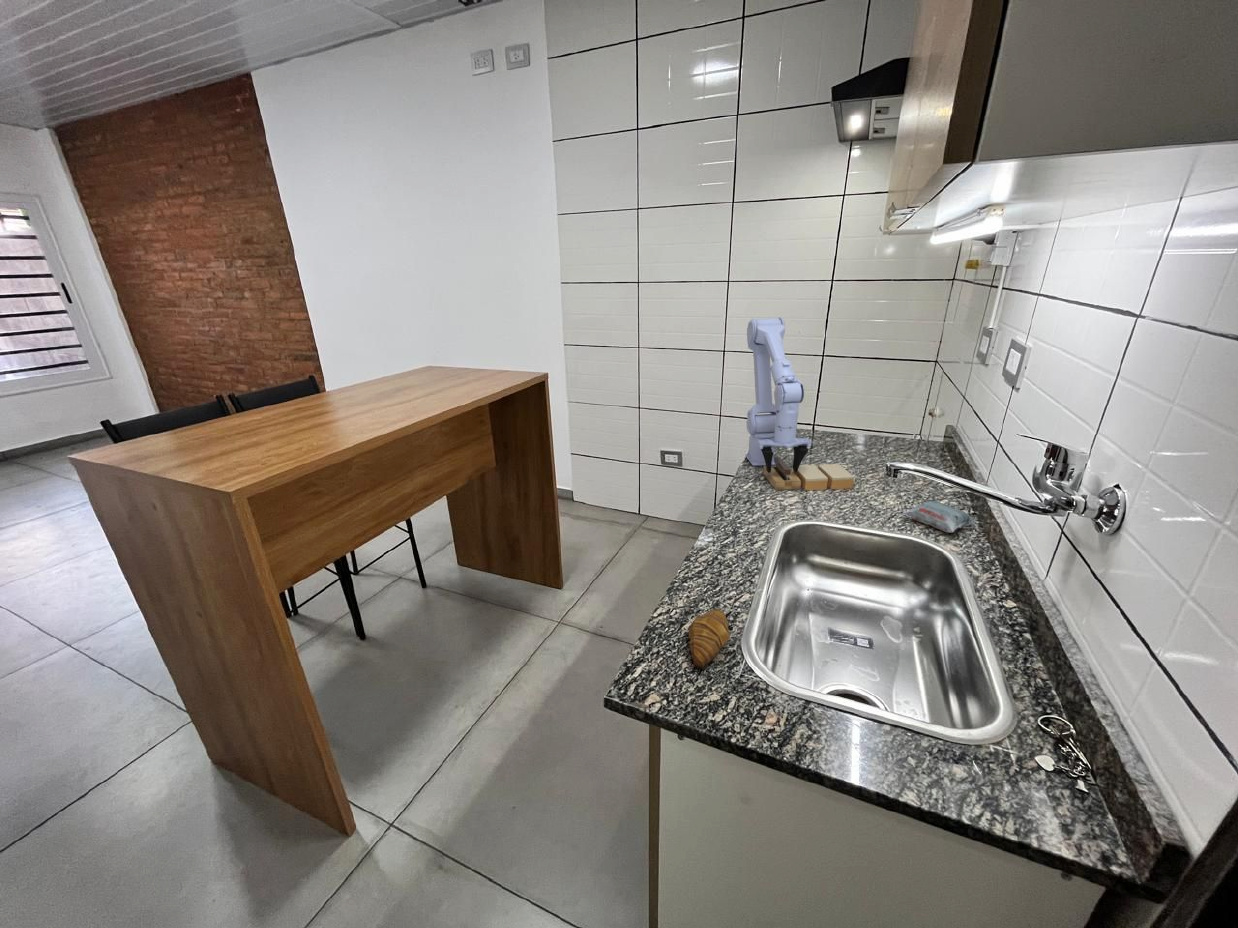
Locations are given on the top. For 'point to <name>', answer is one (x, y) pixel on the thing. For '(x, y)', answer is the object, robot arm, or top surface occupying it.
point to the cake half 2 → (837, 476)
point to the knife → (782, 468)
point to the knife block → (782, 484)
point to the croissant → (708, 637)
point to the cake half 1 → (811, 477)
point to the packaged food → (940, 516)
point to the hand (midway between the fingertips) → (781, 470)
